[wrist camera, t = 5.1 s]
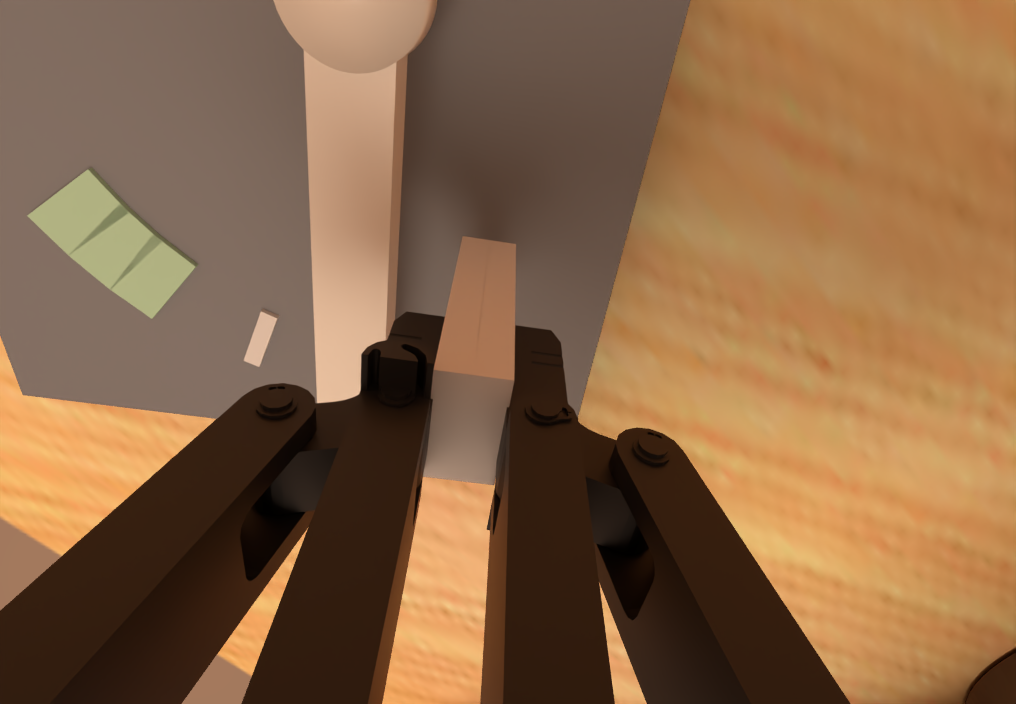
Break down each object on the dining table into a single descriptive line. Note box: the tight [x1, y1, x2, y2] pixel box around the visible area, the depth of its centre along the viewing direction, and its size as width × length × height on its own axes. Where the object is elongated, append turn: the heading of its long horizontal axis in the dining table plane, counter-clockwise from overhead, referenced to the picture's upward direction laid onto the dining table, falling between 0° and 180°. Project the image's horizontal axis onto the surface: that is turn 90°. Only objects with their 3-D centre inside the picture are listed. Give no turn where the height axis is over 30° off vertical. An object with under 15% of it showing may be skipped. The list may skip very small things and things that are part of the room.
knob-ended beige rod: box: [274, 0, 437, 403], centre depth 16 cm, size 16×3×2 cm, turn 172°
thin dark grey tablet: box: [0, 0, 690, 419], centre depth 19 cm, size 22×18×4 cm
